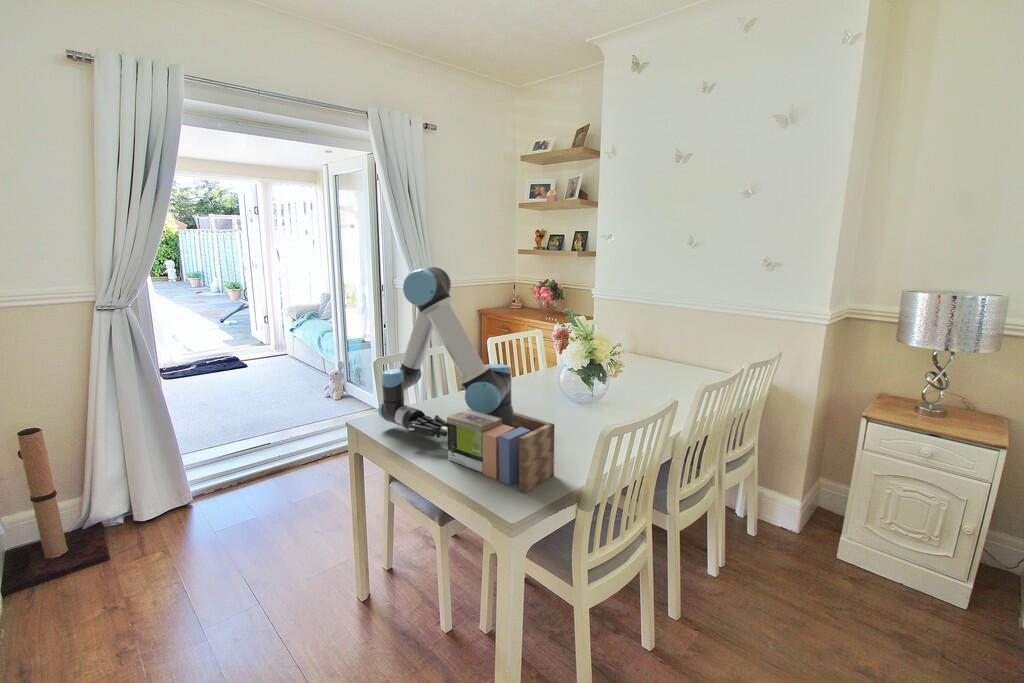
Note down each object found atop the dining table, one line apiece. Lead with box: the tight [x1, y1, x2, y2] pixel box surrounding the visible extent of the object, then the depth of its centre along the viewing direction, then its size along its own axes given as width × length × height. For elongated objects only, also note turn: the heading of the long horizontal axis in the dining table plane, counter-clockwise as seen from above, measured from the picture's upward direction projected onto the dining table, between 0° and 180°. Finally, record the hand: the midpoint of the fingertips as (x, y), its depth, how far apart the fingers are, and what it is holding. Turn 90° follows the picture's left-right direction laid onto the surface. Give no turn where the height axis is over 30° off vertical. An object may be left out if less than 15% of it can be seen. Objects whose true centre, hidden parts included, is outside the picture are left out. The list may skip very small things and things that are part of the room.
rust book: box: [482, 424, 515, 480], centre depth 142 cm, size 9×5×13 cm, turn 143°
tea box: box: [446, 408, 502, 473], centre depth 148 cm, size 15×10×15 cm, turn 51°
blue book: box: [498, 427, 531, 486], centre depth 138 cm, size 9×4×14 cm, turn 135°
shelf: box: [512, 412, 555, 494], centre depth 139 cm, size 14×15×16 cm
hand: (455, 435), depth 153 cm, fingers closed
